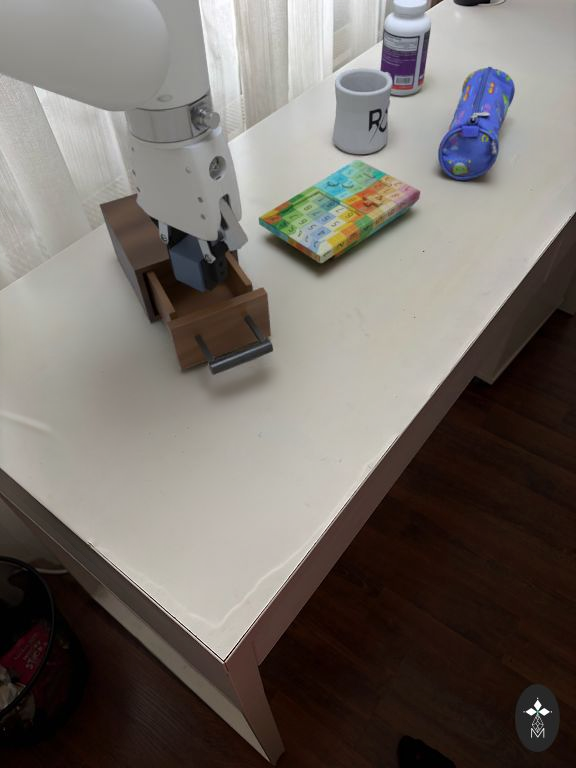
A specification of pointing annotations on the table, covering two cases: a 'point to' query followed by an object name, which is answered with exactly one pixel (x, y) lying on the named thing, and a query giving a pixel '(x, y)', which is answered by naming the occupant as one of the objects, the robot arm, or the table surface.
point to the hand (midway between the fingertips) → (200, 273)
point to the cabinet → (137, 246)
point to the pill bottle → (406, 45)
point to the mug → (362, 110)
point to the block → (189, 262)
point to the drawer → (212, 317)
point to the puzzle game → (340, 211)
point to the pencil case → (476, 124)
